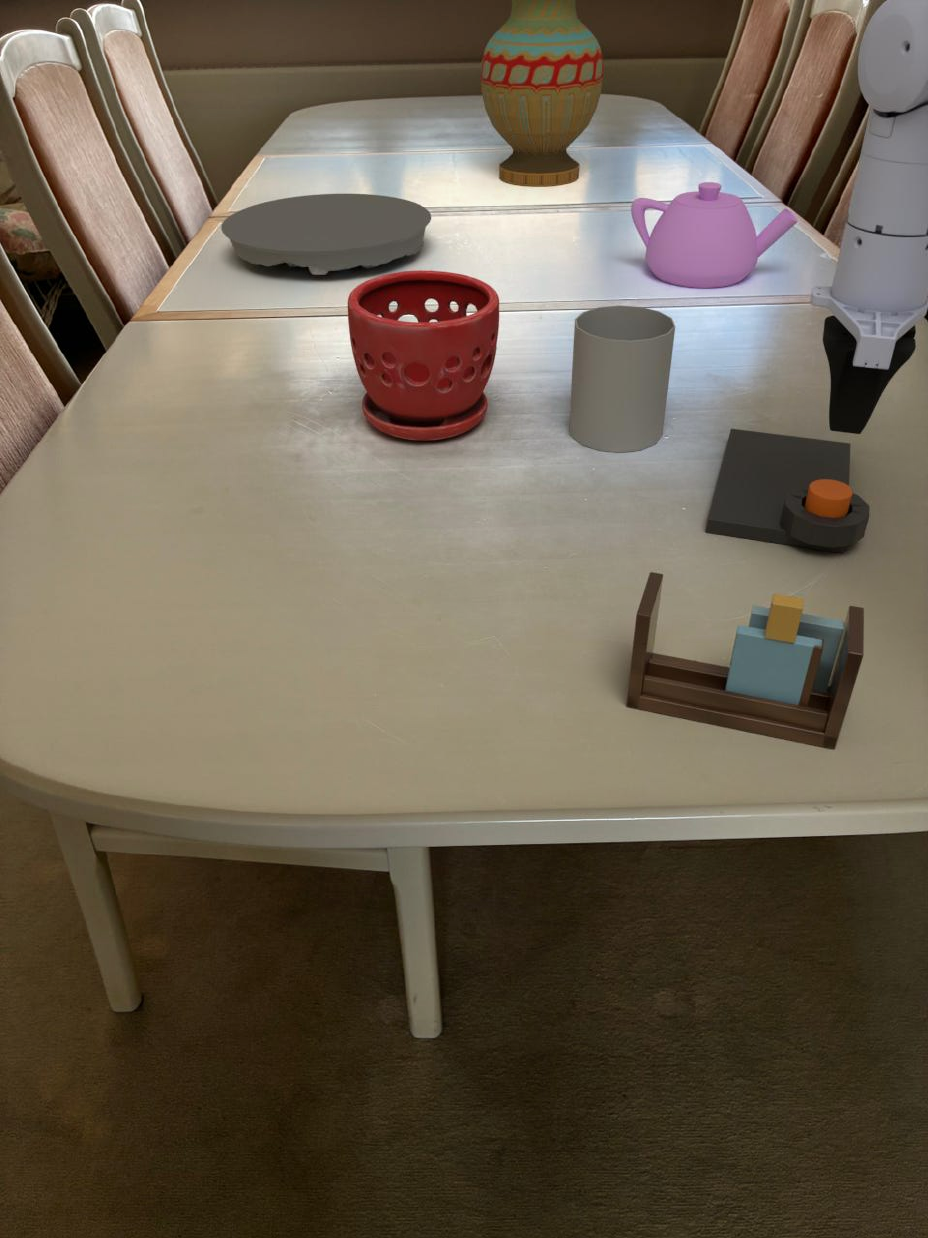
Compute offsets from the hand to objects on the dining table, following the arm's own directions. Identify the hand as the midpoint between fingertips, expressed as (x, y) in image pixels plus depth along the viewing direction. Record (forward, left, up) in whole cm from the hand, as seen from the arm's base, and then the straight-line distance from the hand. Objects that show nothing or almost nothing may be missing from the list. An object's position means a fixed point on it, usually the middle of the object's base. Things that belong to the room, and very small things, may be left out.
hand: (845, 428), depth 66 cm
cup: (+18, -13, -9) cm, 24 cm away
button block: (+3, -6, -9) cm, 12 cm away
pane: (+2, +21, -8) cm, 23 cm away
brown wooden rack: (+4, +21, -9) cm, 23 cm away
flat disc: (+66, -55, -9) cm, 87 cm away
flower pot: (+35, -10, -9) cm, 38 cm away
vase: (+50, -105, -9) cm, 117 cm away
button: (0, 0, -6) cm, 6 cm away
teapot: (+16, -60, -9) cm, 63 cm away
